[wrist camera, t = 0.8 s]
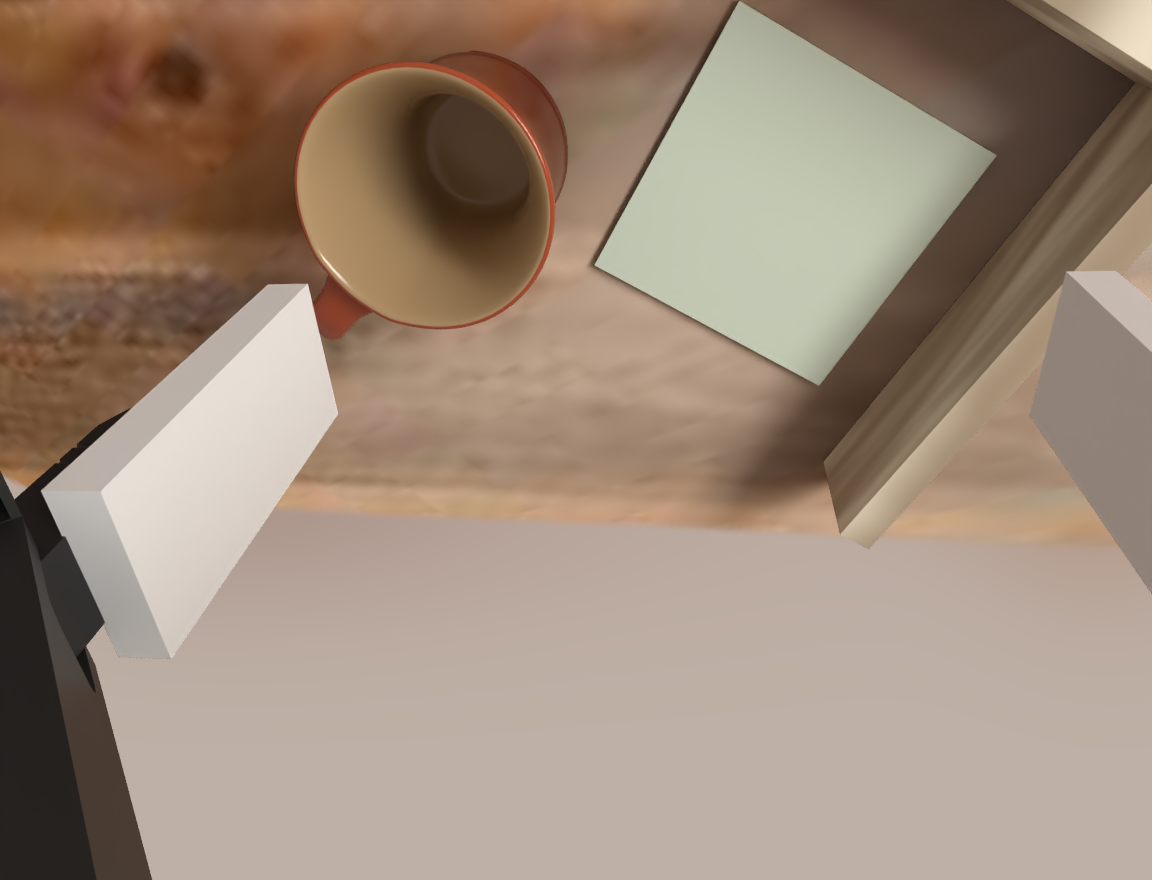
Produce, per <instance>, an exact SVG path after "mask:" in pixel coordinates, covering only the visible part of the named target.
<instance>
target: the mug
mask: <svg viewBox="0 0 1152 880" xmlns="http://www.w3.org/2000/svg"><path fill="white" fill-rule="evenodd" d="M567 163H568V145H567V136H566V130H565V126H564V123H563V119H562V117H561V114H560V112H559V109H558V107H557V105H556V103H555V102H554V100H553V98H552V97H551V95H550V94H549V92H548V91H547V90H546V88H545V87H544V86H543V85H542V84H541V82H540V81H539V80H538V79H537V78H536V77H534V76H533V75H532V74H531V73H530V72H528V71H527V70H526V69H525V68H523V67H521V66H520V65H518V64H516V63H514V62H512V61H510V60H508V59H506V58H503V57H501V56H497V55H494V54H490V53H486V52H481V51H469V52H464V53H455V54H449V55H446V56H443V57H440V58H437V59H435V60H433V61H431V62H429V63H424V62H409V61H407V62H393V63H387V64H382V65H378V66H375V67H371V68H368V69H365V70H363V71H361V72H359V73H356V74H354V75H353V76H351V77H349V78H348V79H346V80H344V81H343V82H342V83H340V84H339V85H338V86H336V87H335V88H334V89H333V90H332V91H331V92H330V93H328V94H327V95H326V96H325V97H324V99H323V100H322V101H321V102H320V104H319V105H318V106H317V107H316V109H315V110H314V112H313V113H312V115H311V117H310V118H309V120H308V122H307V124H306V126H305V128H304V130H303V133H302V136H301V139H300V141H299V145H298V149H297V153H296V159H295V166H294V191H295V199H296V206H297V210H298V214H299V218H300V221H301V225H302V228H303V231H304V233H305V236H306V239H307V241H308V244H309V246H310V248H311V250H312V252H313V254H314V256H315V257H316V259H317V260H318V262H319V263H320V265H321V266H322V267H323V268H324V270H325V271H326V272H327V273H328V277H327V280H326V284H325V287H324V288H323V290H322V292H321V293H320V294H319V296H318V297H317V298H316V300H315V301H314V302H313V303H312V304H313V308H314V313H315V317H316V321H317V325H318V330H319V333H320V334H321V335H322V336H324V337H325V338H327V339H329V340H332V341H337V340H339V339H341V338H342V337H343V336H344V335H345V333H346V332H347V331H348V330H349V329H350V328H351V327H352V326H353V325H354V324H355V323H356V322H357V321H358V320H359V319H360V318H362V317H363V316H365V315H368V314H370V313H372V312H374V313H376V314H377V315H379V316H381V317H383V318H385V319H387V320H389V321H392V322H395V323H399V324H403V325H407V326H412V327H418V328H425V329H454V328H462V327H466V326H471V325H474V324H478V323H481V322H483V321H486V320H488V319H490V318H492V317H494V316H496V315H498V314H500V313H501V312H503V311H505V310H506V309H507V308H509V307H510V306H511V305H513V304H514V303H515V302H516V301H517V300H519V299H520V298H521V297H522V296H523V295H524V294H525V292H526V291H527V290H528V289H529V288H530V287H531V285H532V284H533V282H534V281H535V280H536V278H537V276H538V275H539V273H540V271H541V269H542V268H543V265H544V263H545V261H546V259H547V256H548V253H549V250H550V247H551V243H552V238H553V233H554V225H555V203H556V201H557V199H558V197H559V195H560V193H561V190H562V187H563V184H564V181H565V177H566V172H567Z"/></svg>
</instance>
